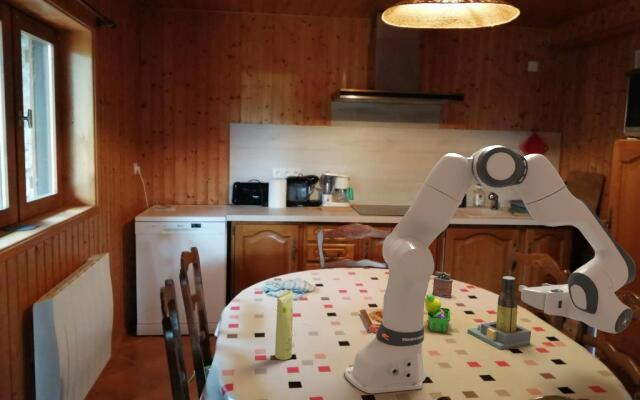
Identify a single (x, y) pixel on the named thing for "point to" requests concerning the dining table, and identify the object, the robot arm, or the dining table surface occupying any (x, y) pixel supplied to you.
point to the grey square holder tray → (495, 343)
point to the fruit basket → (437, 314)
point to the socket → (505, 334)
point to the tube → (284, 327)
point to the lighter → (442, 285)
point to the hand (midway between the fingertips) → (532, 286)
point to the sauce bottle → (507, 306)
